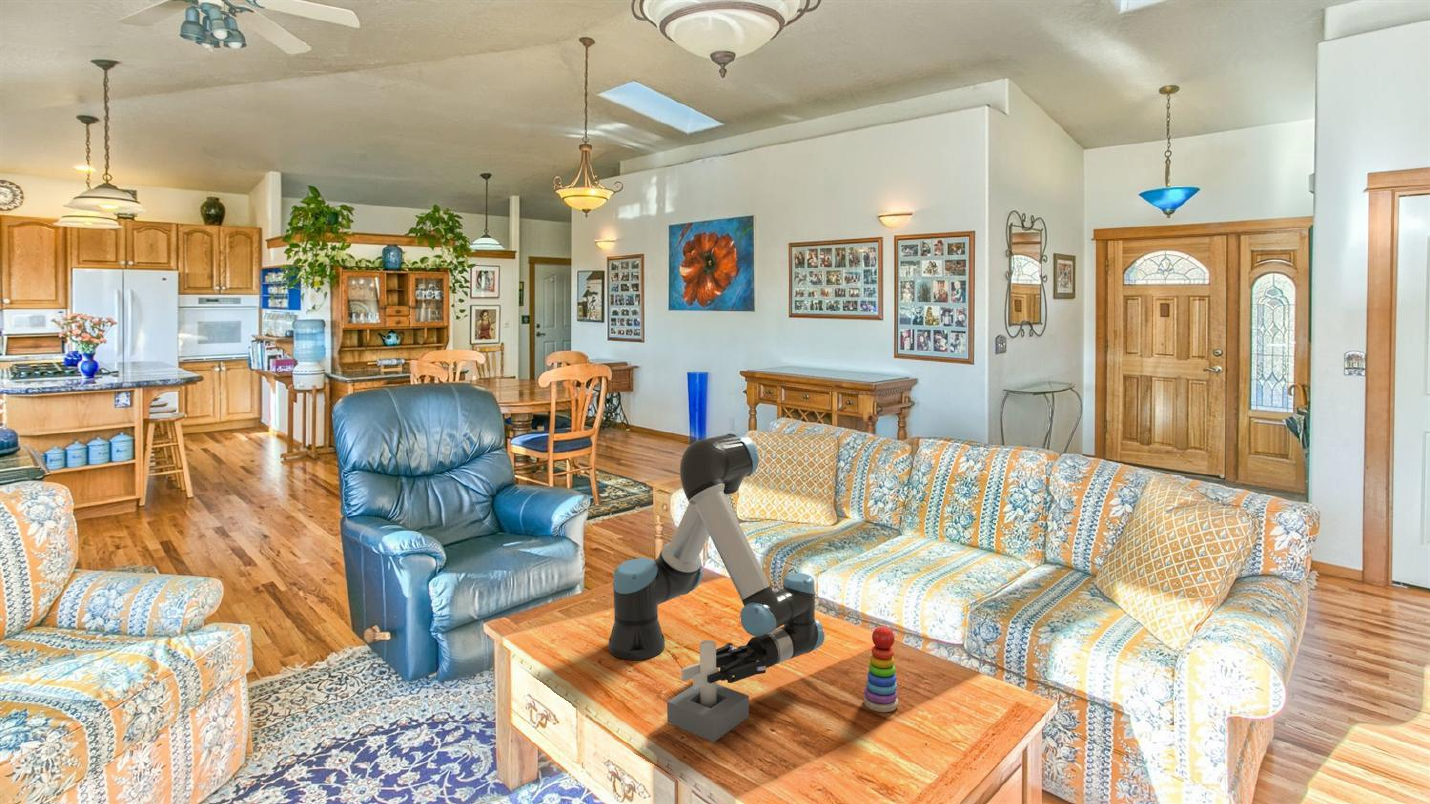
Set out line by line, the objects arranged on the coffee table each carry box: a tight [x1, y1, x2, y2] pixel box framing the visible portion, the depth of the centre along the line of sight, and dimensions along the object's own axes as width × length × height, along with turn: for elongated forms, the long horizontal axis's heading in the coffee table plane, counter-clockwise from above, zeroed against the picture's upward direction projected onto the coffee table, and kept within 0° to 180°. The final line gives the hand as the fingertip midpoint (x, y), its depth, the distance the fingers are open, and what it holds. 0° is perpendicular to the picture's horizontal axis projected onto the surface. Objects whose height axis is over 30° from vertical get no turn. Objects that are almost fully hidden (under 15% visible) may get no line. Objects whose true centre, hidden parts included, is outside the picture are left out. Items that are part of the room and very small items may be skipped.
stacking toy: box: [863, 625, 899, 713], centre depth 181 cm, size 8×8×19 cm
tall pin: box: [699, 639, 717, 708], centre depth 175 cm, size 4×4×15 cm
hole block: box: [666, 683, 750, 743], centre depth 176 cm, size 13×13×5 cm
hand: (688, 678), depth 171 cm, fingers closed on tall pin, 3 cm apart
